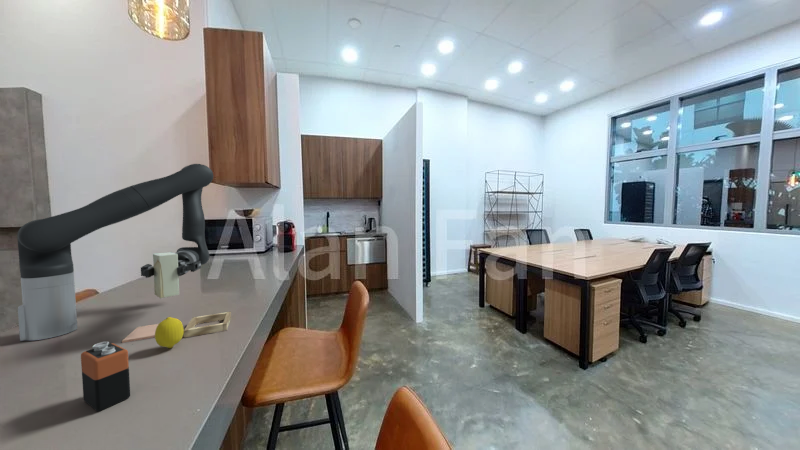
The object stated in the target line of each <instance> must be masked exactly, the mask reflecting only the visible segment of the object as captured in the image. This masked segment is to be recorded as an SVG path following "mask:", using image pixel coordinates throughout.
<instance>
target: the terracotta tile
mask: <svg viewBox="0 0 800 450" xmlns="http://www.w3.org/2000/svg"><path fill="white" fill-rule="evenodd" d="M158 324H159V323H156V324H155V323H154V324H149V325H143V326H142V325H141V326H137V327H136V328H135V329H134V330H132V331H131V332H130V333H129V334H128V335H127V336H126V337H124V338H123V339H122V340H121V342H122V344H124V343H130V342H135V341H142V340H147V339H153V338H154V339H155V331H156V328H157V326H158Z"/></svg>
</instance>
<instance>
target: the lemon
mask: <svg viewBox="0 0 800 450" xmlns="http://www.w3.org/2000/svg"><path fill="white" fill-rule="evenodd" d="M157 324H158V326H157V328H156V331H155V337H154V339H155V340H154V341H155V342H156V344H157V345H158V346H160V347H163V348H168V349H172V348H173V347H174V346H175V345H177V344H178V343H179V342H180V341H181V340H182V339H183V338H184V329H185V328H184V325H183V322H182V321H181V320H180V319H178V318H176V317H172V316H168V317H166V318H165V319H163V320H162V321H160V322H159V323H157Z"/></svg>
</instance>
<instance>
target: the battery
mask: <svg viewBox="0 0 800 450" xmlns="http://www.w3.org/2000/svg"><path fill="white" fill-rule="evenodd" d="M91 347H92V349H89V350H85V351H83V352H81V353H80V362H81V379H82V396H83V401H84V402H85V403H87V404H88V405H89V406H90V407H91V408H92V409H94V410H95V411H97V412H101V411H103V410H105V408H106V409H107V408H111V407H112V406H114V405H117V404H119V403H121V402H123V401H125V400H127V399H129V398H130V397H131V385H130V367H129V351H128V349H126V348H124V347H122V346H120V345H117V343H112V342H109V341H101V342H98V343H95V344H94V345H93V346H91Z"/></svg>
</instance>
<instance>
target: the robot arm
mask: <svg viewBox="0 0 800 450" xmlns="http://www.w3.org/2000/svg"><path fill="white" fill-rule="evenodd" d="M213 179H214V173H213V170H212V169H211V168H210V167H209V166H207V165H205V164H202V163H201V164H200V163H191V164H189V165H186V166H184V167H183V168H181V169H180V170H179V171H177V172H174V173H171V174H169V175H167V176H163V177H160V178H155V179H151V180H147V181H142V182H140V183H137V184H134V185H133V184H132V185H130V186H127V187H124V188H121V189H118V190H116V191H114V192H111V193H109V194H108V193H107V194H105V195H104V196H102V197H100V198H98V199H95V200H94V201H92V202H91V203H88V204H86V205H84V206H82V207H80V208H77V209H74V210H73V209H72V210H71V211H67V212H64V213H60V214H57V215H53V216H49V217H45V218H39V219H35V220H30V221H29V222H26V223H24V224H23V225H22V226H20V228H19V229H18V231H17V249H18V250H17V251H18V264H19V265H18V266H19V273H20V284H21V285H20V287H21V299H22V301H21V302H22V304H21V305H18V307H17V319H18V334H19V341H20V342H23V341H38V340H39V341H40V340H47V339H51V338H55V337H59V336H62V335H63V336H64V335H66V334H68V333H69V334H70V333H72V332H74V331H76V330H78V318H77V302H76V288H75V286H76V285H75V273H74V262H73V256H72V246H71V245H72V243H74V242H76V241H78V240H79V239H81V238H83V237H85V236H88V235H90V234H91V233H93V232H95V231H97V230H100V229H102V228H106V227H109V226H112V225H114V224H117V223H120V222H123V221H126V220H129V219H131V218H135V217H136V216H139V215H142V214H144V213H147V212H149V211H150V210H153V209H155V208H157V207H159V206H161V205H163V204H164V203H167V202H169V201H170V200H173V199H175V198H176V197H178V196H180V195H181V196H182V197H181V199H182V226H181V228H182V229H181V238H182V240H184V241H186V242H192V243H195V244H196V246H184V247H183V246H182V247H179V248H177V249H176V252H175V253H176V254H178V267H177V274H178V276H179V277H181V276H184V275H187V273H188V272H190V273H194V272H197V271H198V270H200V269H201V268H202V267H201V266H202V265H205V264H207V263H208V262H209V260H210V252H209V249H208V246H207V243H206V236H205V235H206V234H205V230H206V222H205V221H206V219H205V214H204V209H203V205H202V193H203V189H204V188H205V187H207V186H209V185H210V184H211V183H212V181H213ZM140 276H141V277H145V278H146V279H147V278H151V277H154V265H152V264H150V263H146V264H145V265H144V264H143V266H141V267H140Z"/></svg>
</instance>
